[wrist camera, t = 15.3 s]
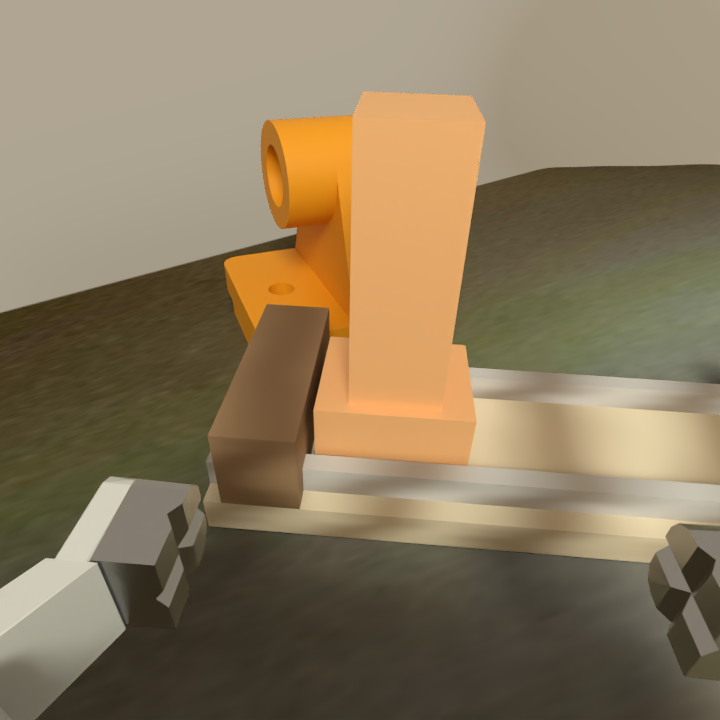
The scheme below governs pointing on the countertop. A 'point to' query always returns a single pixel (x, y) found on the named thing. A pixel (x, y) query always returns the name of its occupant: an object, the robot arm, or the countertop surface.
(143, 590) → the robot arm
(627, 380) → the rail board
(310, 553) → the countertop surface
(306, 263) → the bracket
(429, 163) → the slider
